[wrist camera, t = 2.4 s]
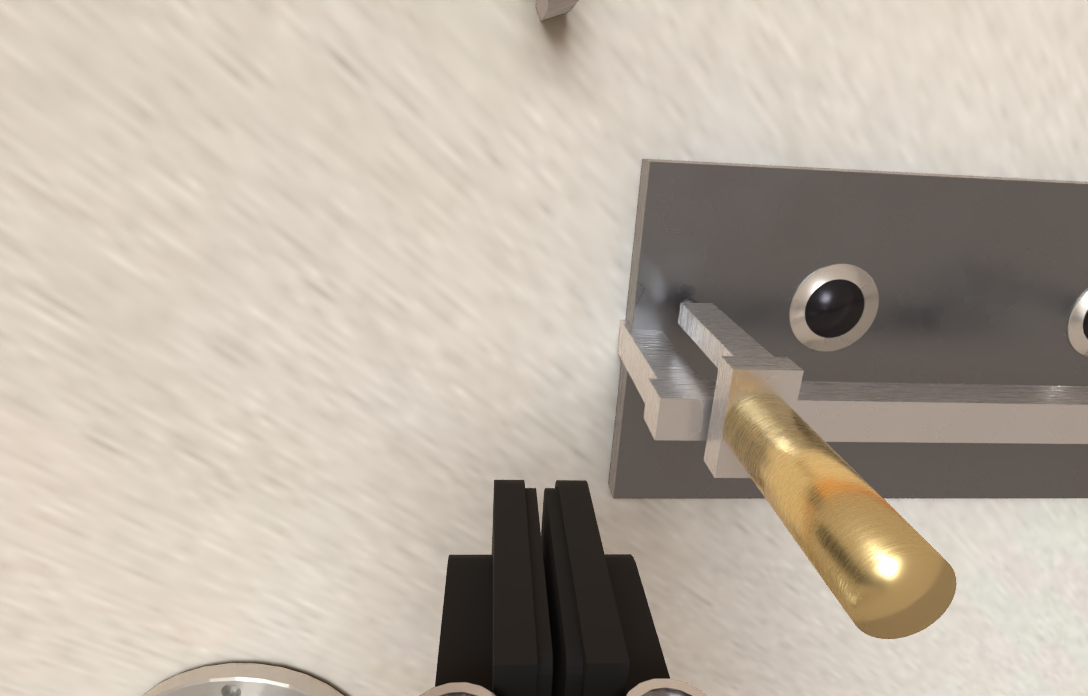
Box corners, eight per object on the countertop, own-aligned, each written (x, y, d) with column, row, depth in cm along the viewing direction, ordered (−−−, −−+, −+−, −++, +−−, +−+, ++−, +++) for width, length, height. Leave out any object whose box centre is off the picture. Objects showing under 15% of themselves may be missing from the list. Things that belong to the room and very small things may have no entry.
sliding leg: (702, 379, 25) (929, 665, 12) (654, 378, 25) (831, 668, 12) (715, 297, 24) (981, 518, 11) (664, 295, 24) (873, 518, 11)
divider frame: (1111, 373, 29) (1408, 499, 19) (609, 363, 26) (674, 500, 17) (1140, 300, 27) (1471, 398, 18) (616, 283, 25) (691, 384, 16)
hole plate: (1076, 483, 31) (1101, 499, 29) (608, 483, 28) (613, 499, 27) (1196, 187, 26) (1231, 191, 25) (642, 158, 24) (650, 161, 22)
